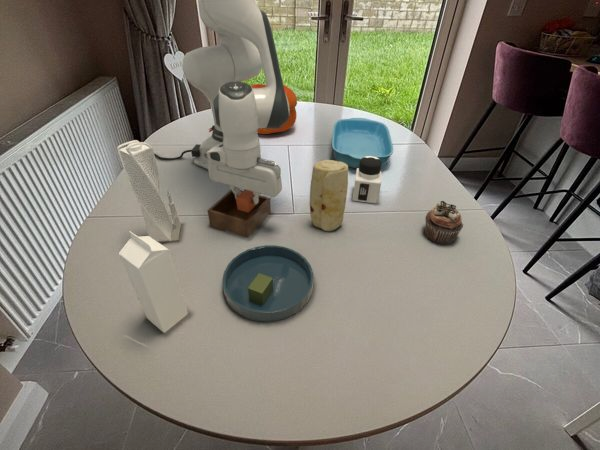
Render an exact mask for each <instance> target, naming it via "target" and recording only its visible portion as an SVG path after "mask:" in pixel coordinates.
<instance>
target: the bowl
mask: <svg viewBox="0 0 600 450" xmlns="http://www.w3.org/2000/svg"><path fill="white" fill-rule="evenodd" d="M259 273H260V274H263V275H266V276H269V277H271V278H273V291H272V293H271V294H270V296H269V297H268V299H267V300H266V302H265V303H264V305H260V304H258V303H255V302H253V301H250V300H249V294H248V287H249V286H250V284H251V283H252V282H253V280H254V279H255V278H256V276H257V275H258V274H259ZM314 278H315V277H314V270H313V268H312V265H311V264H310V262H309V261H308V259H307V258H306V257H305V256H303V255H302V254H301V253H300V252H298V251H296V250H295V249H292V248H289V247H287V246H281V245H268V244H267V245H266V244H265V245H260V246H259V245H258V246H254V247H252V248H249V249H246V250H244V251H242V252H240V253H239V254H237V255H236V256H234V257H233V258H232V260H231V261H230V262H229V263H228V264H227V266H226V267H225V269H224V271H223V275H222V280H221V281H222V289H223V294H224V298H225V300H226V302H227V304H228V305H229V307H230V308H231V309H232V310H233V311H234V312H235V313H237V314H238V315H240V316H241V317H244V318H245V319H248V320H252V321H256V322H265V323H266V322H276V321H280V320H285V319H287V318H290V317H292V316H294V315H295V314H297V313H298V312H300V311H301V310H302V309H303V308H304V307H305V306H306V304H308V302H309V301H310V299H311V296H312V294H313V289H314Z"/></svg>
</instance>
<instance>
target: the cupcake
mask: <svg viewBox="0 0 600 450" xmlns="http://www.w3.org/2000/svg"><path fill="white" fill-rule="evenodd" d="M462 219H463V218H462V215H461V213H460V211H459V209H458V208H457V206H456V205H455V204H451V203H450V204H449V203H447V202H446V201H445V200H440V201H437V202H436V204H435V206H434V207H432V209H430V210H429V211H428V212H427V213H426V215H425V229H424V234H425V236H426V238H427V239H429V240H430V241H432V242H433V243H437V244H440V245H448V244H451V243H452V242H454V241H455V240H456V238H457V236H458V235H459V234H460V233H461V231H462V229H463V228H464V222H463V220H462Z"/></svg>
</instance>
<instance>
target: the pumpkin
mask: <svg viewBox="0 0 600 450" xmlns="http://www.w3.org/2000/svg"><path fill="white" fill-rule="evenodd" d="M250 86H251V87H252V88H263V87H265V86H266V84H260V83H256V84H252V85H250ZM283 86H284V90H285V93H286V96H287V99H288V102H289V109H290V112H289V119H288V120H287V121H286V123H285V124H284V125H283V126H281V127H280V128H279V129H268V128H258V131H257V134H260V135H271V134H275V133H282V132H286V131H288V130H290V129H291V128H292V127H293V126H294V125H295V124H296V121H297V116H298V115H297V108H296V107H297V105H298V98H297V96H296V94H295V92H294V91H293V89H291V88H290V87H288V86H287V85H285V84H283Z"/></svg>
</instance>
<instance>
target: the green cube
mask: <svg viewBox="0 0 600 450" xmlns="http://www.w3.org/2000/svg"><path fill="white" fill-rule="evenodd" d="M272 291H273V278H271V277H269V276H266V275H263V274H260V273H259V274H258V275H257V276H256V278H255V279H254V280H253V282H252V283H251V284H250V286H249V287H248V294H249V300H250V301H253V302H255V303H258V304H260V305H264V303H265V302H266V300H267V299H268V297H269V296H270V294H271V293H272Z"/></svg>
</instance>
